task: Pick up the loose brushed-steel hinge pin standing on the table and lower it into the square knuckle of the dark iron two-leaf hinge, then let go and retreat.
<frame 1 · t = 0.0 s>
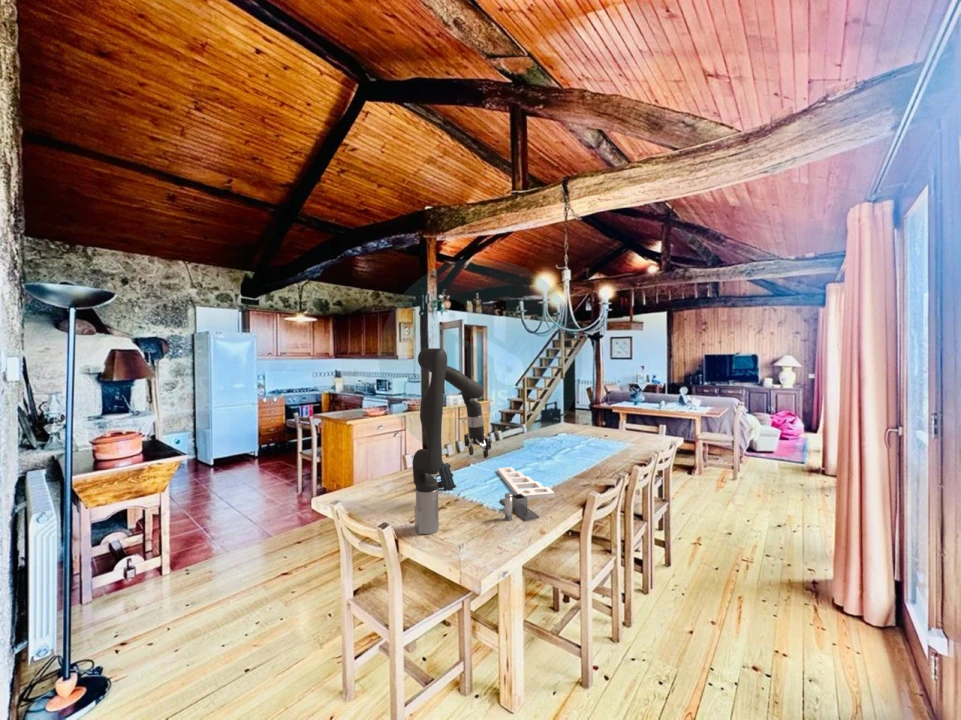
hand: (478, 456, 197), 22 cm above the table, tool pointing down, fingers open, 8 cm apart
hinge: (518, 509, 188), on the table
pin: (508, 519, 178), on the table
holder: (523, 484, 223), on the table
gun: (441, 490, 214), on the table
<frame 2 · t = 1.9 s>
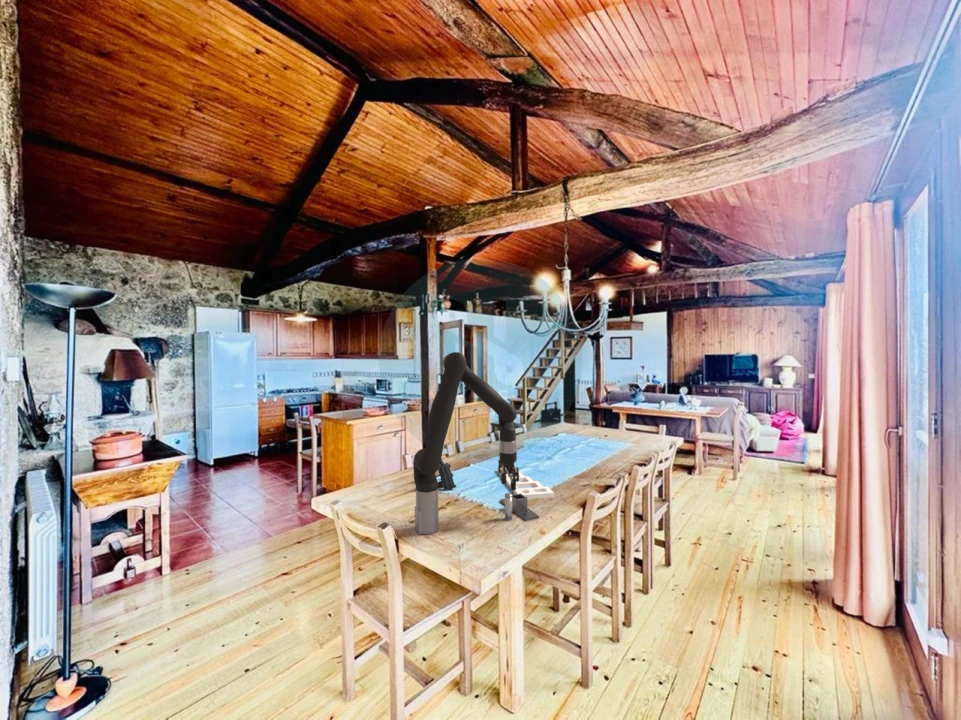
hand: (508, 486, 178), 14 cm above the table, tool pointing down, fingers open, 8 cm apart
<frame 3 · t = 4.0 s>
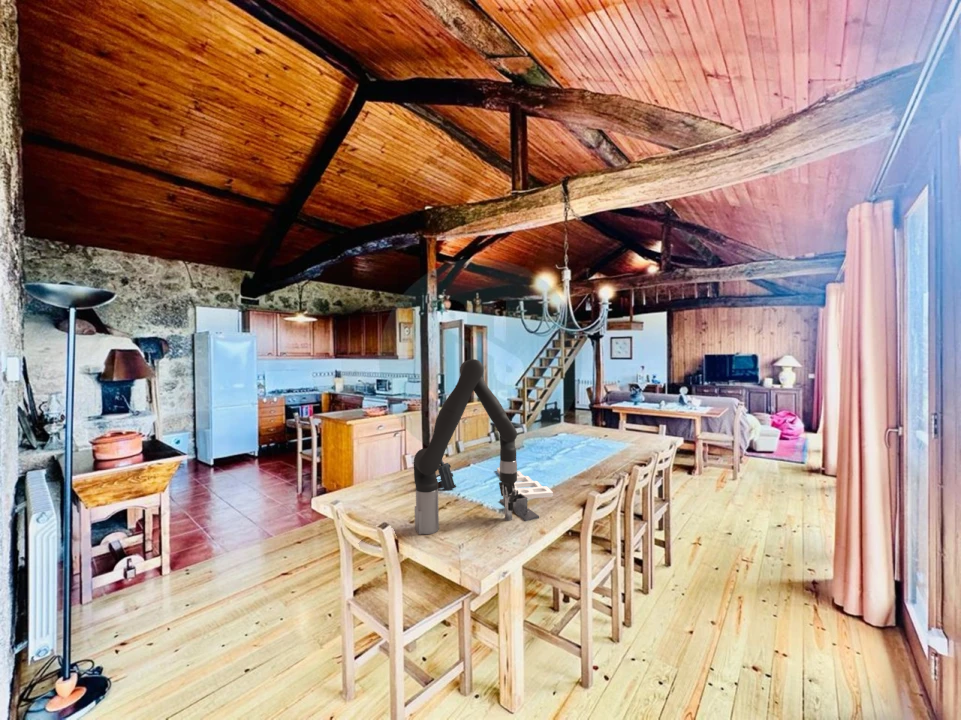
hand: (508, 508, 178), 5 cm above the table, tool pointing down, fingers closed on pin, 3 cm apart
pin: (508, 519, 178), on the table, touching gripper
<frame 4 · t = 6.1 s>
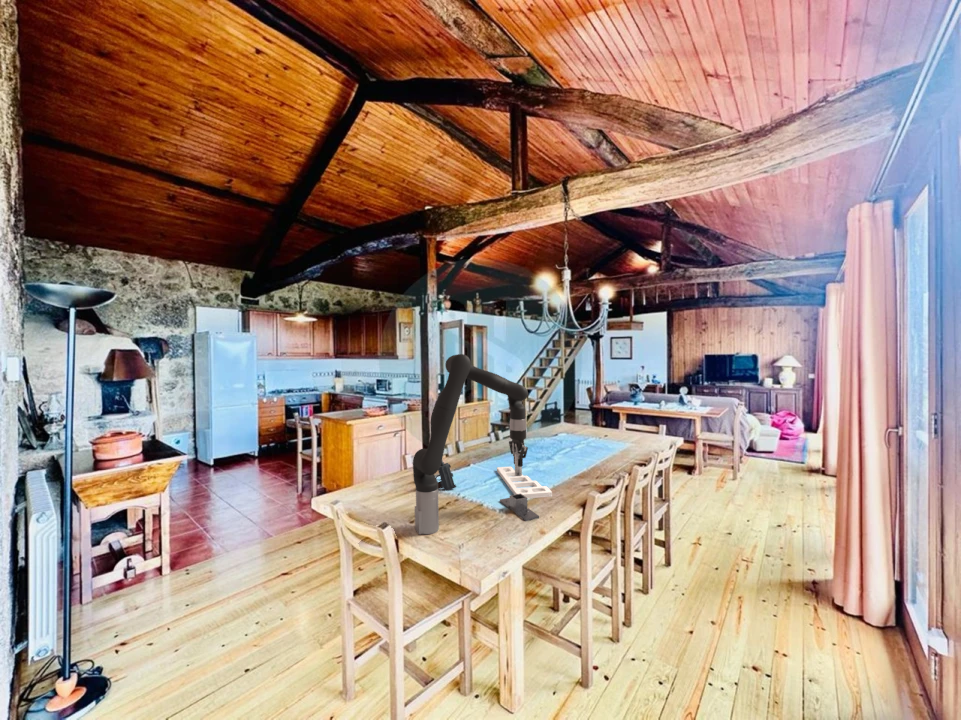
hand: (518, 465, 187), 21 cm above the table, tool pointing down, fingers closed on pin, 3 cm apart
pin: (518, 475, 188), point 16 cm above the table, touching gripper
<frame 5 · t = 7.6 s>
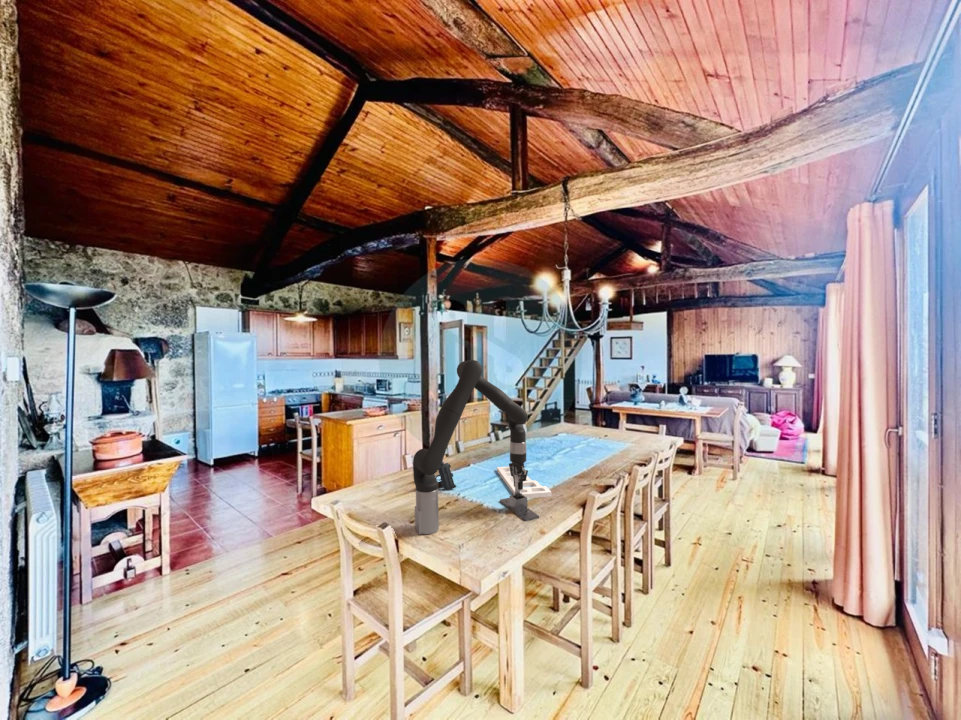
hand: (518, 487, 188), 10 cm above the table, tool pointing down, fingers closed on pin, 3 cm apart
pin: (518, 497, 188), point 5 cm above the table, touching gripper
when the fingers open (8 cm above the table, at t = 8.7 s): pin drops 3 cm, resting in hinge.
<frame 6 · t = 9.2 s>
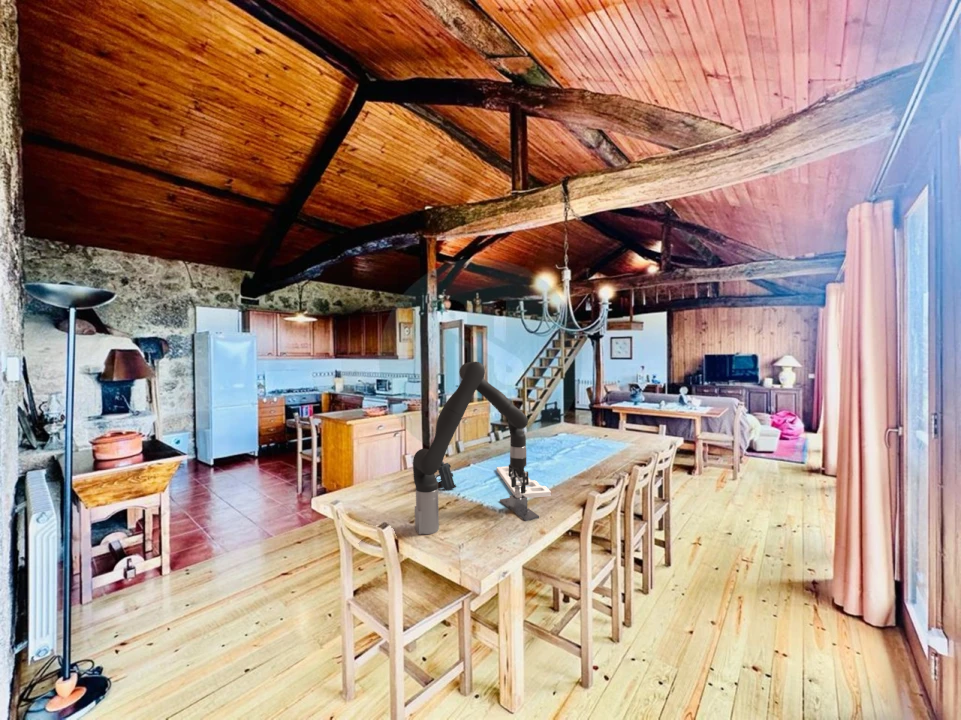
hand: (518, 490, 188), 9 cm above the table, tool pointing down, fingers open, 8 cm apart
pin: (518, 509, 188), resting in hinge
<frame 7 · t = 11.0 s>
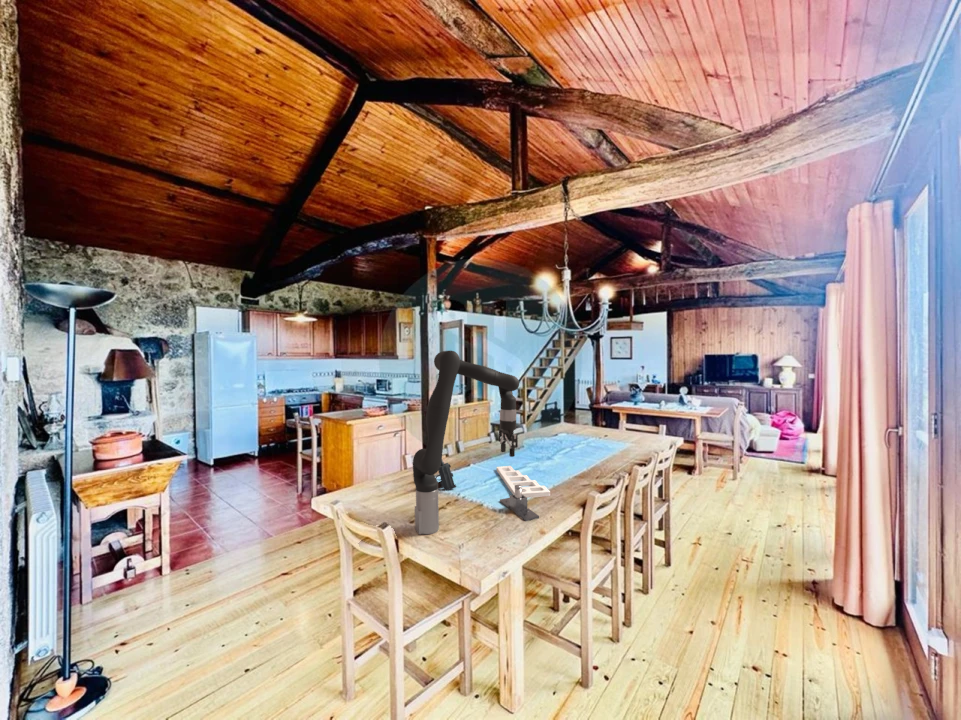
hand: (507, 454, 186), 26 cm above the table, tool pointing down, fingers open, 8 cm apart
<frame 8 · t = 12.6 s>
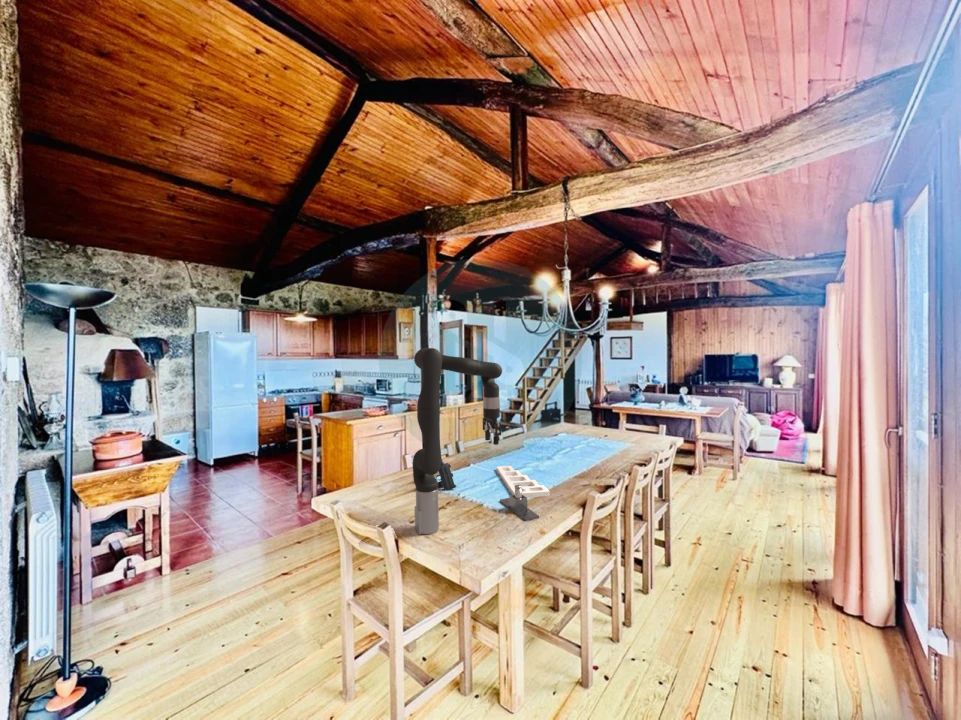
hand: (491, 442, 185), 32 cm above the table, tool pointing down, fingers open, 8 cm apart
at the end: pin 0.1 cm off-centre on the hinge, point 0.0 cm above the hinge's base; pin tilted 0°; the gripper is holding nothing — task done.
